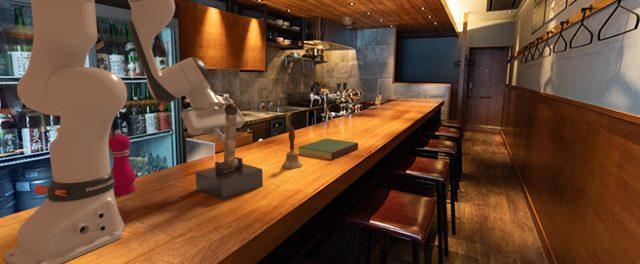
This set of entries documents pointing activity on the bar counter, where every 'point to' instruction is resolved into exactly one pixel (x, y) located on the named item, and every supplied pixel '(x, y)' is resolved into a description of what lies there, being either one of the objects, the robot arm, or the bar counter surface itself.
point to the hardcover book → (328, 148)
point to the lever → (230, 137)
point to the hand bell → (292, 153)
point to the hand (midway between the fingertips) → (226, 139)
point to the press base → (228, 180)
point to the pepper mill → (121, 164)
